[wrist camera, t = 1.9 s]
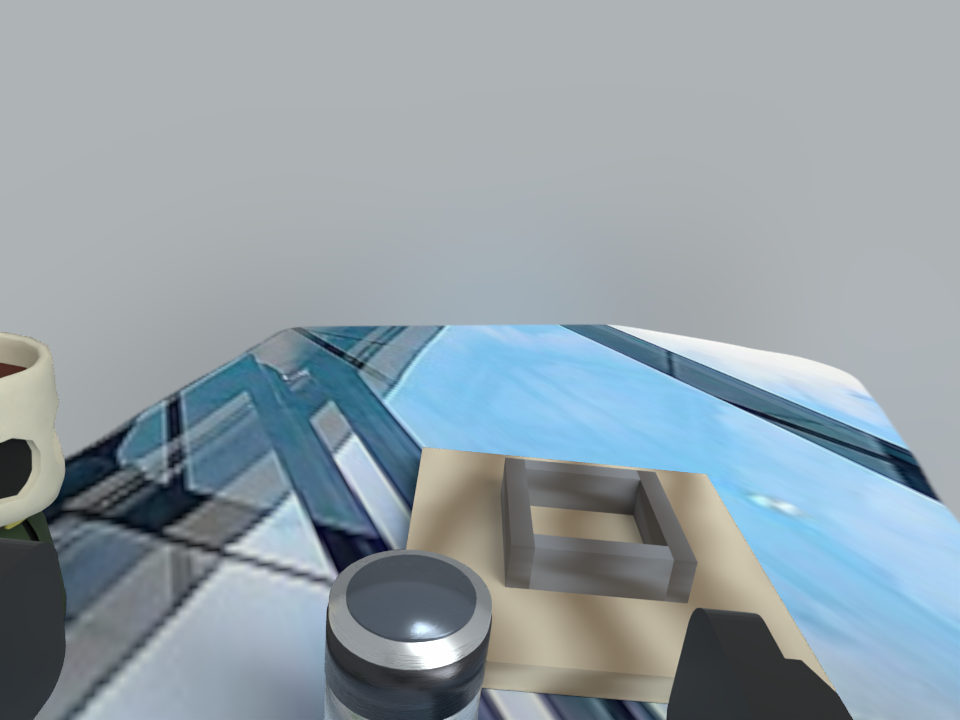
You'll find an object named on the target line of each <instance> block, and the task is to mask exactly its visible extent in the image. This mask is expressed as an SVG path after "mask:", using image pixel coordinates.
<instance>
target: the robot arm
mask: <svg viewBox="0 0 960 720" xmlns="http://www.w3.org/2000/svg"><path fill="white" fill-rule="evenodd" d="M65 647H66V644H65V630H64V619H63V607H62V596H61V584H60V573H59V561H58V555H57V552H56V549H55V548H54V546H53V545H52V544H50V543H48V542H39V541H29V540H18V539H8V538H0V720H33V719H34V718H35V716H36V715H37V714H38V712H39V711H40V710H41V708H42V707H43V705H44V704H45V703H46V701H47V700H48V698H49V697H50V695H51V693H52V692H53V690H54V688H55V686H56V683H57V681H58V679H59V676H60V673H61V670H62V666H63V662H64V657H65ZM667 720H853V719H852V717H851V715H850V714H849V712H848V710H847V709H846V707H845V705H844V704H843V702H842V700H841V699H840V697H839V696H838V694H837V693H836V692H835V691H834V690H833V689H832V688H831V687H830V686H829V685H828V684H827V683H826V682H824V681H823V680H822V679H821V678H820V677H819V676H818V675H817V674H816V673H815V672H814V671H813V670H812V669H811V668H810V667H808V666H807V665H806V664H805V663H804V662H803V661H802V660H797V659H787V658H784V656H783V654H782V652H781V650H780V649H779V647H778V645H777V643H776V641H775V640H774V638H773V636H772V634H771V632H770V630H769V629H768V627H767V625H766V623H765V622H764V620H763V618H762V617H761V616H760V615H758V614H757V613H749V612H739V611H729V610H718V609H708V608H696V609H695V610H694V611H693V613H692V615H691V617H690V619H689V623H688V627H687V630H686V634H685V638H684V642H683V646H682V650H681V654H680V658H679V662H678V666H677V670H676V674H675V678H674V682H673V686H672V690H671V694H670V698H669V702H668V709H667Z"/></svg>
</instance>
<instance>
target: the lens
mask: <svg viewBox="0 0 960 720" xmlns="http://www.w3.org/2000/svg"><path fill="white" fill-rule="evenodd" d="M491 625H492V598H491V595H490V591H489V589H488V587H487V585H486V584H485V582H484V581H483V580H482V578H481V577H480V576H479V575H478V574H477V573H476V572H474V571H473V570H472V569H471V568H469V567H468V566H466V565H465V564H463V563H461V562H459V561H457V560H455V559H453V558H450V557H448V556H445V555H442V554H438V553H434V552H429V551H422V550H409V549H407V550H391V551H385V552H380V553H376V554H373V555H370V556H367V557H364V558H362V559H360V560H358V561H356V562H354V563H353V564H351V565H350V566H348V567H347V568H346V569H345V570H343V571H342V572H341V573H340V575H339V576H338V577H337V578H336V580H335V581H334V583H333V585H332V588H331V590H330V595H329V603H328V607H327V619H326V642H325V675H326V680H325V702H324V720H477V716H478V709H479V701H480V694H481V687H482V684H483V680H484V676H485V669H486V662H487V654H488V647H489V639H490V632H491Z"/></svg>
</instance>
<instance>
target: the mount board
mask: <svg viewBox="0 0 960 720" xmlns="http://www.w3.org/2000/svg"><path fill="white" fill-rule="evenodd" d="M407 549H409V550H422V551H429V552H434V553H438V554H442V555H445V556H448V557H450V558H453V559H455V560H457V561H459V562H461V563H463V564H465V565H466V566H468V567H469V568H471V569H472V570H473V571H474V572H476V573H477V574H478V575H479V576H480V577H481V578H482V580H483V581H484V582H485V584H486V585H487V587H488V589H489V591H490V595H491V598H492V625H491V632H490V639H489V647H488V654H487V662H486V669H485V676H484V680H483V684H482V687H481V688H489V689H501V690H513V691H525V692H536V693H548V694H560V695H572V696H584V697H595V698H607V699H619V700H631V701H643V702H654V703H666V704H668V702H669V698H670V694H671V690H672V686H673V682H674V678H675V674H676V670H677V666H678V662H679V658H680V654H681V650H682V646H683V642H684V638H685V634H686V630H687V627H688V623H689V619H690V617H691V615H692V613H693V611H694V610H695V609H696V608H708V609H718V610H729V611H739V612H749V613H757V614H758V615H760V616H761V617H762V618H763V620H764V622H765V623H766V625H767V627H768V629H769V630H770V632H771V634H772V636H773V638H774V640H775V641H776V643H777V645H778V647H779V649H780V650H781V652H782V654H783V656H784V658H787V659H797V660H802V661H803V662H804V663H805V664H806V665H807V666H808V667H810V668H811V669H812V670H813V671H814V672H815V673H816V674H817V675H818V676H819V677H820V678H821V679H822V680H823V681H824V682H826V683H827V684H828V685H829V686H830V687H831V688H832V689H833V690H834V691H835V692H836V690H835V688H834V687H833V685H832V683H831V682H830V680H829V678H828V677H827V675H826V673H825V672H824V670H823V668H822V667H821V665H820V663H819V662H818V660H817V658H816V657H815V655H814V653H813V652H812V650H811V648H810V647H809V645H808V643H807V642H806V640H805V638H804V637H803V635H802V633H801V632H800V630H799V628H798V627H797V625H796V623H795V622H794V620H793V618H792V617H791V615H790V613H789V612H788V610H787V608H786V607H785V605H784V603H783V602H782V600H781V598H780V597H779V595H778V593H777V592H776V590H775V588H774V587H773V585H772V583H771V582H770V580H769V578H768V577H767V575H766V573H765V572H764V570H763V568H762V567H761V565H760V563H759V562H758V560H757V558H756V557H755V555H754V553H753V552H752V550H751V548H750V547H749V545H748V543H747V542H746V540H745V538H744V537H743V535H742V533H741V532H740V530H739V528H738V527H737V525H736V523H735V522H734V520H733V518H732V517H731V515H730V513H729V512H728V510H727V508H726V507H725V505H724V503H723V501H722V500H721V498H720V496H719V495H718V493H717V491H716V490H715V488H714V486H713V485H712V483H711V481H710V480H709V478H708V476H707V475H706V474H698V473H687V472H677V471H667V470H656V469H646V468H635V467H625V466H614V465H604V464H594V463H583V462H573V461H562V460H552V459H541V458H531V457H520V456H510V455H500V454H489V453H479V452H468V451H458V450H447V449H437V448H427V447H423V449H422V455H421V461H420V467H419V473H418V479H417V485H416V491H415V497H414V503H413V509H412V515H411V521H410V527H409V534H408V540H407V546H406V550H407Z"/></svg>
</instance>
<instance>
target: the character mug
mask: <svg viewBox="0 0 960 720" xmlns="http://www.w3.org/2000/svg"><path fill="white" fill-rule="evenodd" d="M58 404H59V399H58V394H57V390H56V384H55V374H54V365H53V359H52V354H51V352H50V349H49V347H48V345H46V344H43V343H41V342H40V341H37V340H36V339H34V338H31V337H27V336H22V335H17V334H12V333H7V332H0V538H8V539H18V540H29V541H39V542H48V543H50V544H52V545H53V541H52V538H51V535H50V532H49V528H48V525H47V522H46V518H45V515H44V514H43V512H42V510H43V509H45V508H46V507H48V506H49V505H50V504H52V502H53V501H54V500H55V499H56V498H57V496H58V494H59V491H60V488H61V485H62V482H63V479H64V475H65V461H64V454H63V451H62V448H61V445H60V442H59V439H58V436H57V434H56V431H55V419H56V414H57V409H58ZM53 546H54V545H53ZM59 573H60V584H61V596H62V607H63V616H64V615H65V611H66V593H65V588H64V584H63V579H62V574H61V570H60V565H59Z"/></svg>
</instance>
